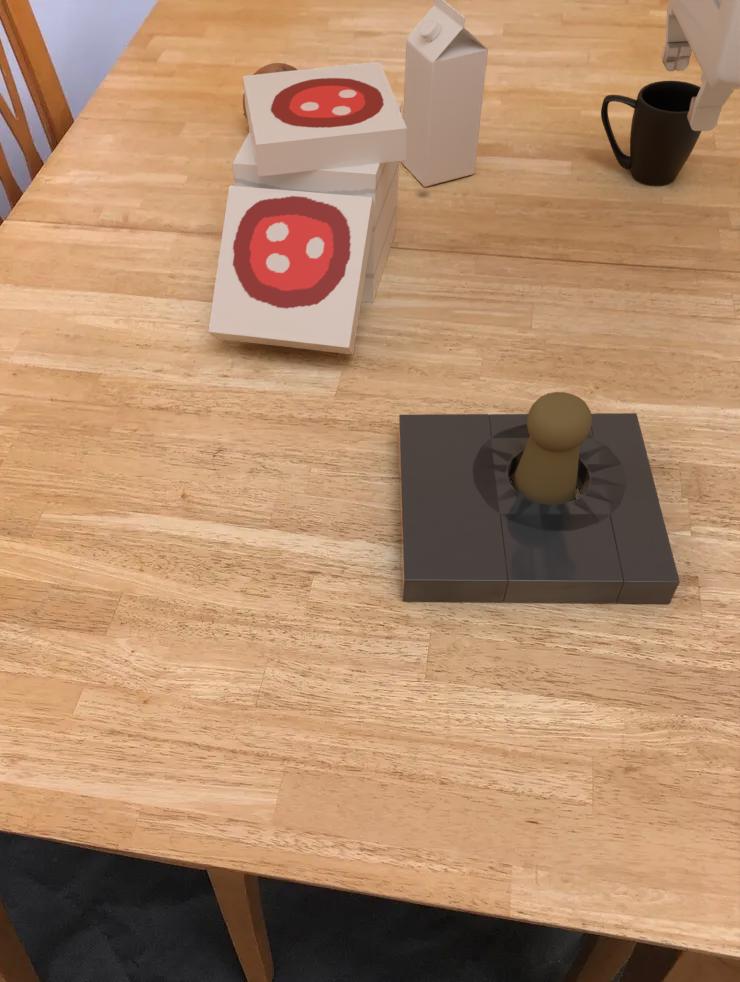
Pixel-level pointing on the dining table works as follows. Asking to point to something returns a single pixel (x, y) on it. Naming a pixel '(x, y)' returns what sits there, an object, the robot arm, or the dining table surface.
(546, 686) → the dining table surface
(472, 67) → the milk carton
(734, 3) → the robot arm
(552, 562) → the drain plate
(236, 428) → the dining table surface
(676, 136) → the mug
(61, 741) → the dining table surface
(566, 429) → the brown pawn shaped plug
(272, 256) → the pizza boxes
